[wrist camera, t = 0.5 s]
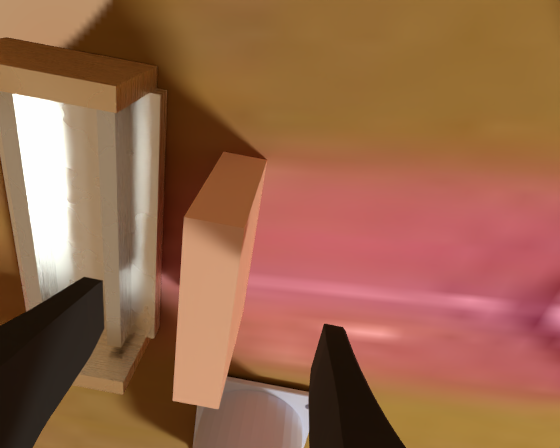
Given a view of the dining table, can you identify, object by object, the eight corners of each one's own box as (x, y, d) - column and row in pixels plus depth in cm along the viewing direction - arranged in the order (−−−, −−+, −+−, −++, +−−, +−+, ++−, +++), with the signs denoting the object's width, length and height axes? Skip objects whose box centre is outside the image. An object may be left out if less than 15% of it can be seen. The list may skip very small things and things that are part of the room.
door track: (159, 338, 28) (132, 396, 24) (37, 315, 28) (-9, 369, 24) (168, 67, 20) (129, 88, 16) (-5, 35, 20) (-87, 48, 16)
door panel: (243, 311, 26) (218, 409, 20) (207, 304, 26) (172, 400, 20) (267, 159, 22) (244, 228, 15) (224, 151, 22) (183, 216, 15)
